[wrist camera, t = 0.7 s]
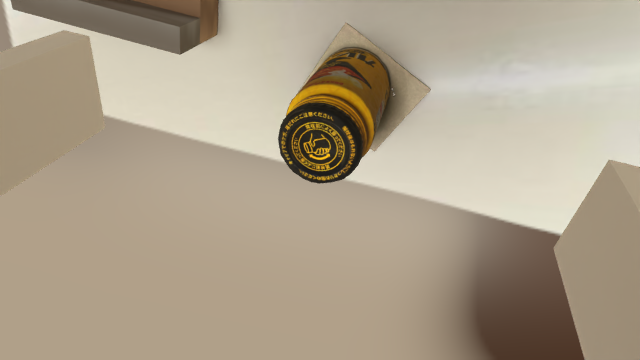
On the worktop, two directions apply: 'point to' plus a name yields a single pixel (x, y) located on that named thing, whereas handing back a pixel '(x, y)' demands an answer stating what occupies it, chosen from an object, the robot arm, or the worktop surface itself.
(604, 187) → the robot arm
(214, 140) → the worktop surface
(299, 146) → the condiment
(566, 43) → the worktop surface
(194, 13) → the jig
